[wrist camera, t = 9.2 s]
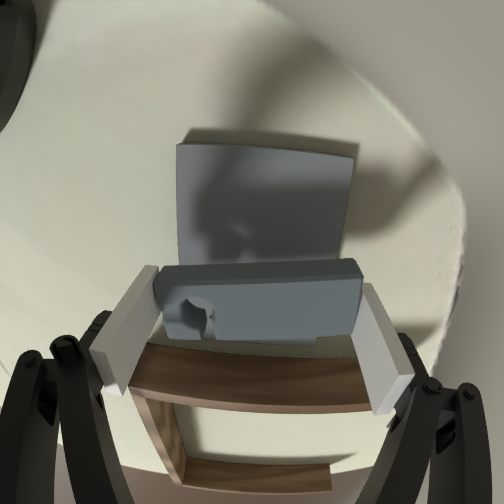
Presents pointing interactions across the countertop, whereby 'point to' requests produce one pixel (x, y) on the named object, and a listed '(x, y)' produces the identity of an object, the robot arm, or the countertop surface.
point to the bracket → (261, 299)
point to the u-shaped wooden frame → (240, 409)
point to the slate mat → (258, 208)
